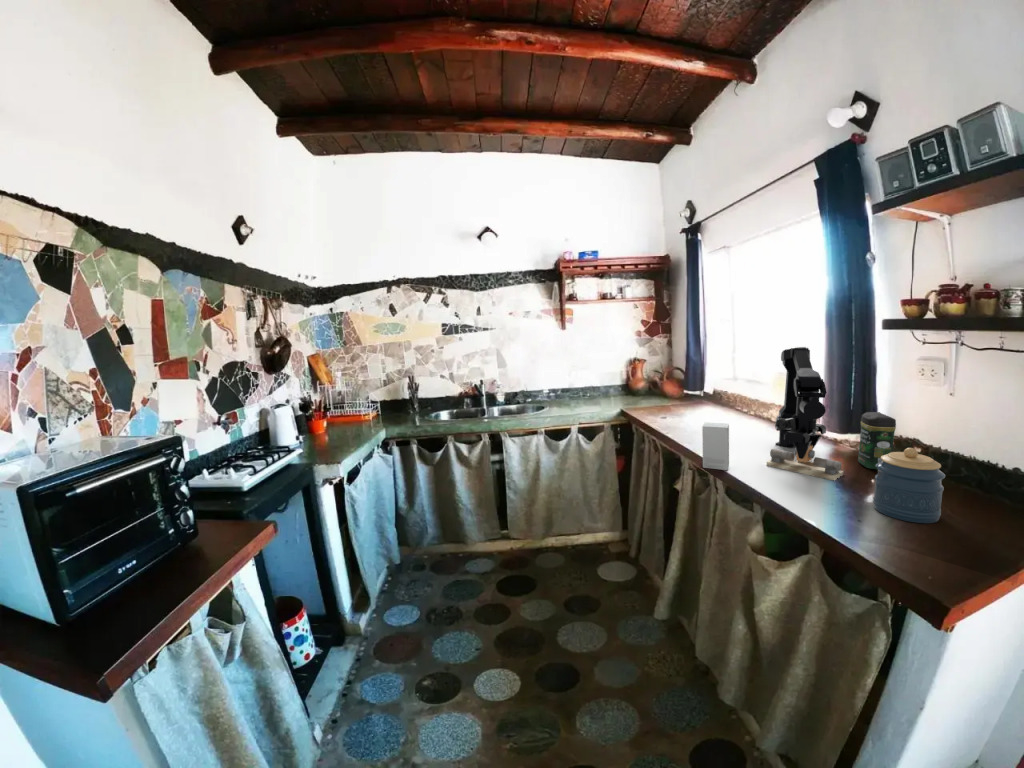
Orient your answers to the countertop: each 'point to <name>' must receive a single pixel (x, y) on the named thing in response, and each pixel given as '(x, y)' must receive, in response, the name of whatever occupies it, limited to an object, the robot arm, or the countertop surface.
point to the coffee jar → (875, 438)
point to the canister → (909, 487)
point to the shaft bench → (806, 465)
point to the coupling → (806, 455)
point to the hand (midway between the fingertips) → (804, 456)
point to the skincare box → (715, 445)
